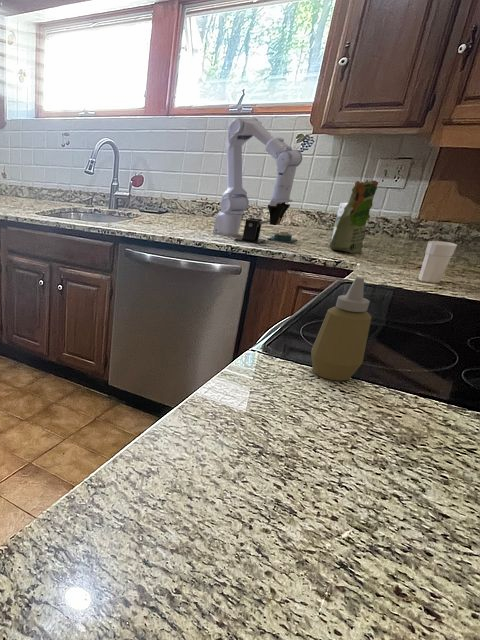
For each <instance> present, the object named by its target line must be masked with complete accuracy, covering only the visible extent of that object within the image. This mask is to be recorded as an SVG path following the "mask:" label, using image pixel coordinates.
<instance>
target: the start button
mask: <svg viewBox="0 0 480 640" xmlns="http://www.w3.org/2000/svg"><path fill="white" fill-rule="evenodd" d="M278 233H279V235H288V234H289V231H288V230H286V229H280V230H279V232H278Z"/></svg>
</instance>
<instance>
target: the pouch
mask: <svg viewBox="0 0 480 640" xmlns="http://www.w3.org/2000/svg"><path fill="white" fill-rule="evenodd" d="M378 184H379V181H376V180H368V179H366V180H365V181H359V180H357V181H355V182H354V186H353V187H352V189H351V194H350V197H349V199H348V202H347V203H348V204H347V205H346V207H345V208H344V212H343V214H342V216H341V217H340V219H339V222H338V224H337V228H336V231H335V234H334V236H333V239H332V240H331V241H330V244H329V246H328V247H329V248H330V249H331V250H332V251H333V250H334V251H341V252H344V253H345V252H346V253H349V254H351V255H358V254H361V253H362V252H363V248H364V244H363V243H364V242H363V241H364V240H365V236H366V233H367V229H366V224H367V221H368V220H369V219H370V218H371V216H370V212H371V210H372V209H371V208H372V207H373V205H374V204H373V201H374V197H375V195H376V191H377V190H378Z"/></svg>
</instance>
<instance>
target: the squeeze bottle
mask: <svg viewBox="0 0 480 640" xmlns="http://www.w3.org/2000/svg"><path fill="white" fill-rule="evenodd" d="M364 288H365V278H364V277H361V276H356V277H355V278H354V280H353V282H352V283H351V285H350V287H349V289H348V290H347V292H346V293H345V294H341V295H338V296H337V299H336V303H335V306H332V307H330V308H328V309H327V312H326V314H325V316H324V319H323V321H322V324H321V326H320V329H319V331H318V333H317V335H316V339H315V341H314V343H313V346H312V348H311V351H310V356H311V366H312V367H311V368H312V372H313V373H314V374H315V375H317V376H318V377H320V378H324V379H327V380H332V381H339V382H345V381H348V380H350V379H351V378H352V377H353V375H354V374H355V373H356V372H357V371H358V370H359V368H360V367H361V366H362V365H363V363H364V358H365V353H366V347H367V342H368V337H369V333H370V326H371V322H372V315H371V314H370V312H368V309H369V305H370V300H369V299H367V298H365V297H364V290H365V289H364Z"/></svg>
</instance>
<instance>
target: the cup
mask: <svg viewBox="0 0 480 640" xmlns="http://www.w3.org/2000/svg"><path fill="white" fill-rule="evenodd" d="M457 246H458V244H457V243H453V242H449V241H442V240H429V241H427V245H426V248H425V251H424V252H425V254H424V257H423V260H422V264H421V268H420V271H419V275H418V278H417V280H419V281H421V282H425V283H432V284H433V283H434V284H438V283H441V281H442V278H443V277H444V274H445V272H446V270H447V268H448V266H449V263H450V262H451V258H452V257H453V255H454V253H455V251H456V249H457Z"/></svg>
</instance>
